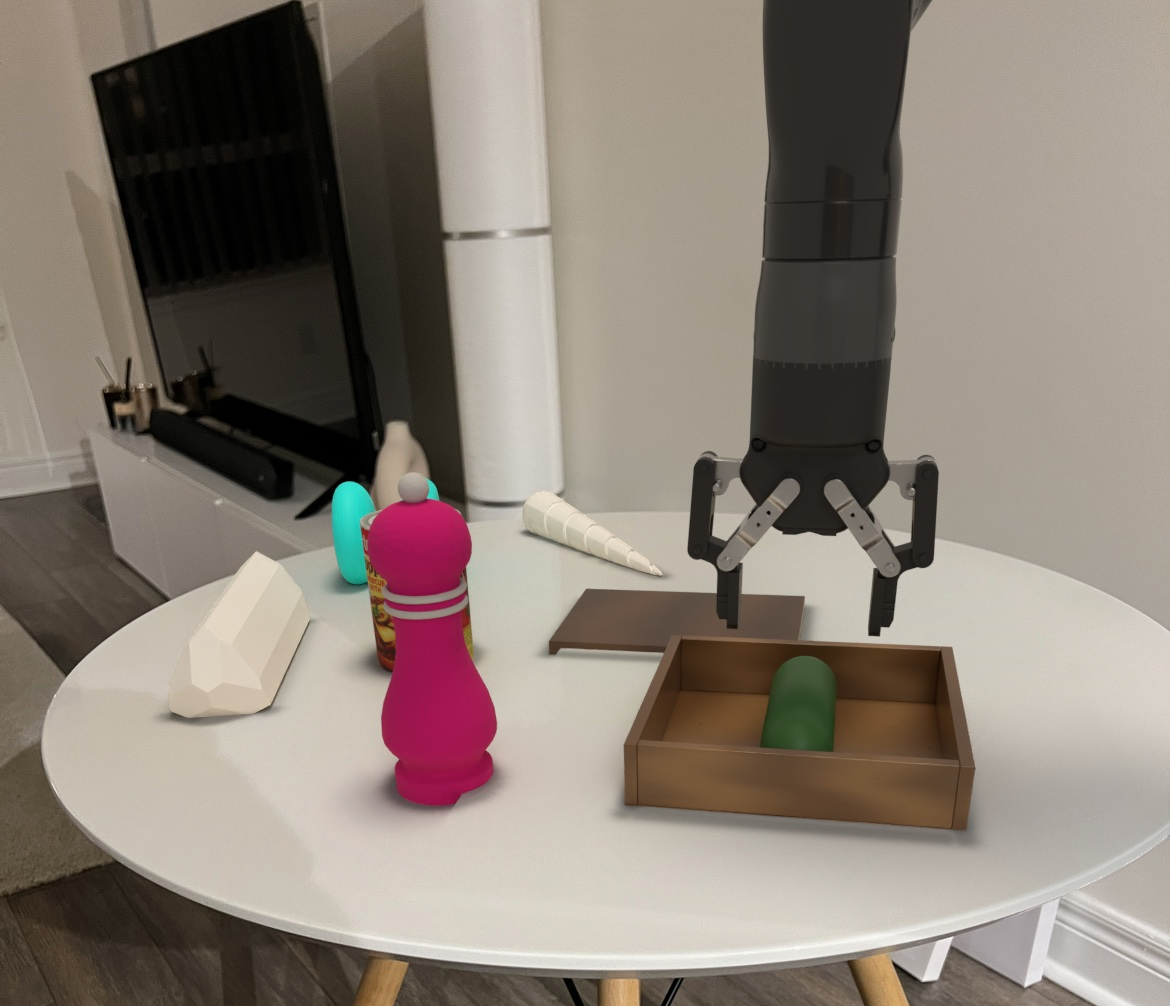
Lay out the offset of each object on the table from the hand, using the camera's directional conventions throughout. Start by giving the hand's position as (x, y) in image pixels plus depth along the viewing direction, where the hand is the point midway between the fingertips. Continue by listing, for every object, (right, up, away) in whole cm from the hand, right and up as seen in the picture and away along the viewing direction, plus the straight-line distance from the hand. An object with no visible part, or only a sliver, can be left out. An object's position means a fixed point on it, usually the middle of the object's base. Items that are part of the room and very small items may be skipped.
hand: (803, 628), depth 68 cm
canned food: (-27, 0, +23) cm, 35 cm away
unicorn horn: (-13, +15, +50) cm, 54 cm away
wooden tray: (+1, -8, +4) cm, 9 cm away
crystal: (-41, 0, +23) cm, 47 cm away
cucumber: (0, -7, +4) cm, 8 cm away
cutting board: (-5, +3, +27) cm, 27 cm away
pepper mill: (-22, -10, +3) cm, 25 cm away
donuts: (-33, +11, +44) cm, 56 cm away
